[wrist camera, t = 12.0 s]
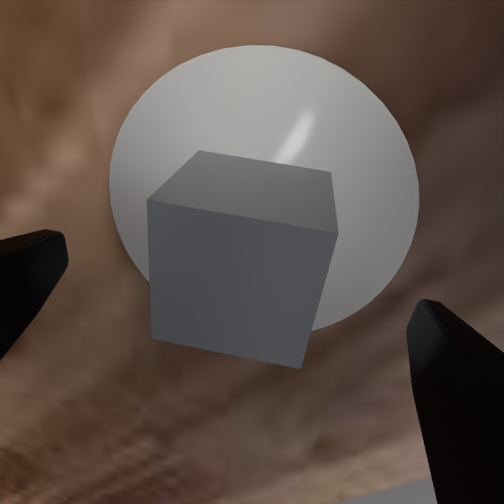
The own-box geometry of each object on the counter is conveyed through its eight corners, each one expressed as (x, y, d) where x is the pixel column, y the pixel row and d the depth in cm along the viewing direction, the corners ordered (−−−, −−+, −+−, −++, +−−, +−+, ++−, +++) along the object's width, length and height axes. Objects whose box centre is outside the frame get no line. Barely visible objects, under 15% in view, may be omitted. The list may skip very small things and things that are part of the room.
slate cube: (330, 171, 11) (338, 233, 7) (304, 280, 13) (300, 369, 9) (199, 150, 11) (146, 199, 8) (194, 260, 13) (151, 338, 10)
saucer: (358, -32, 9) (362, -39, 8) (441, 281, 13) (450, 298, 12) (66, 132, 12) (48, 138, 11) (204, 341, 16) (198, 358, 15)
